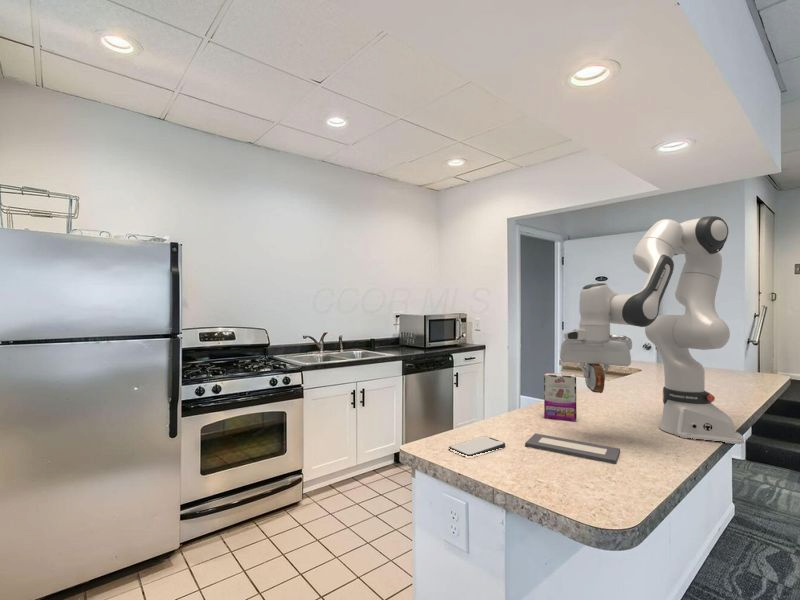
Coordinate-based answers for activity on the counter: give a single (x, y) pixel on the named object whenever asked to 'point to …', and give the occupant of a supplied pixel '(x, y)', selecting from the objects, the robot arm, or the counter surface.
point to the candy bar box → (560, 396)
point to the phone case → (477, 446)
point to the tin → (595, 378)
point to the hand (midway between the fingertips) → (594, 378)
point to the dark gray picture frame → (574, 448)
